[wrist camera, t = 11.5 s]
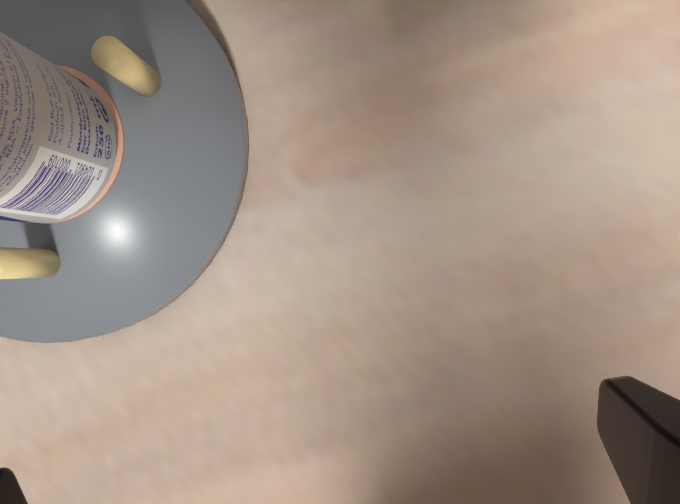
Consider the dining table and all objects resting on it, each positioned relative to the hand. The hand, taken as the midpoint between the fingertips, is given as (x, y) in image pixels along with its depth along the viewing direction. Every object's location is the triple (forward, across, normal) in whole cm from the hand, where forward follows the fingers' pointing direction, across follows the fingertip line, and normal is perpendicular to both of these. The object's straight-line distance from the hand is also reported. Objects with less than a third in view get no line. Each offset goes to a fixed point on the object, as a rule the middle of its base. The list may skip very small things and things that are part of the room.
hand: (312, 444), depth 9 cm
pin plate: (+16, +8, -2) cm, 18 cm away
